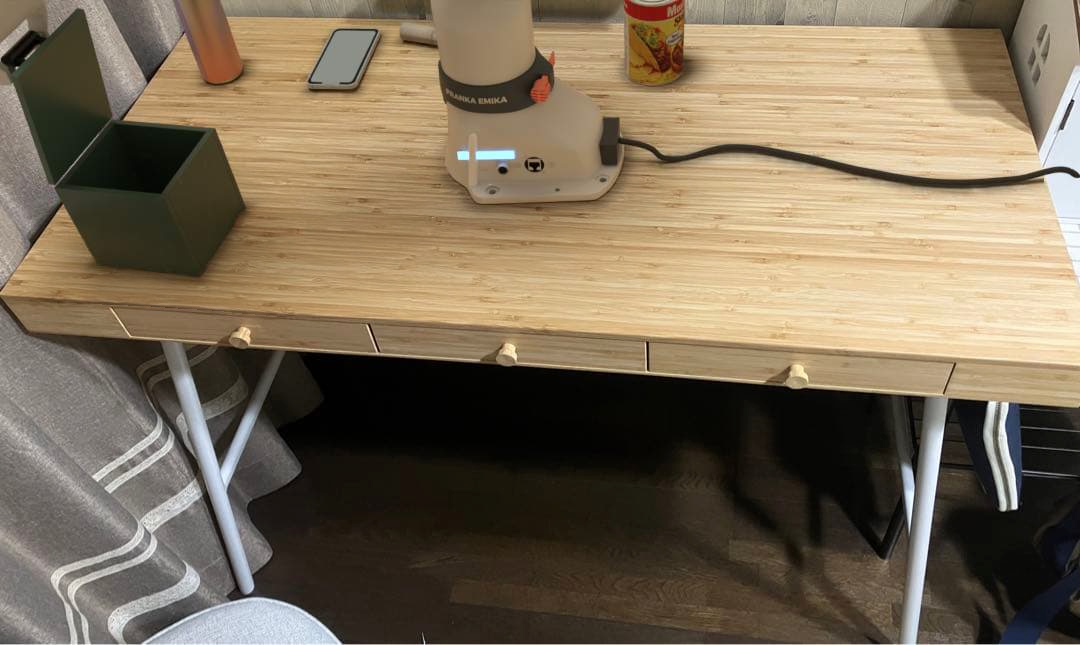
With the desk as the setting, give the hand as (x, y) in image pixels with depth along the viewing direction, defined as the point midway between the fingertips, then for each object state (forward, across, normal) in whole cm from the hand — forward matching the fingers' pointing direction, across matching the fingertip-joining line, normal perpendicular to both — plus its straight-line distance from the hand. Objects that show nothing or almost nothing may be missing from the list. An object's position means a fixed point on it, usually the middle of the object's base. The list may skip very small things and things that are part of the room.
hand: (26, 63), depth 107 cm
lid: (+4, 0, -3) cm, 5 cm away
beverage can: (+24, +33, 0) cm, 41 cm away
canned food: (+22, +41, -61) cm, 77 cm away
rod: (+23, +44, -29) cm, 58 cm away
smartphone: (+23, +38, -17) cm, 47 cm away
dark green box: (+23, 0, -9) cm, 25 cm away
